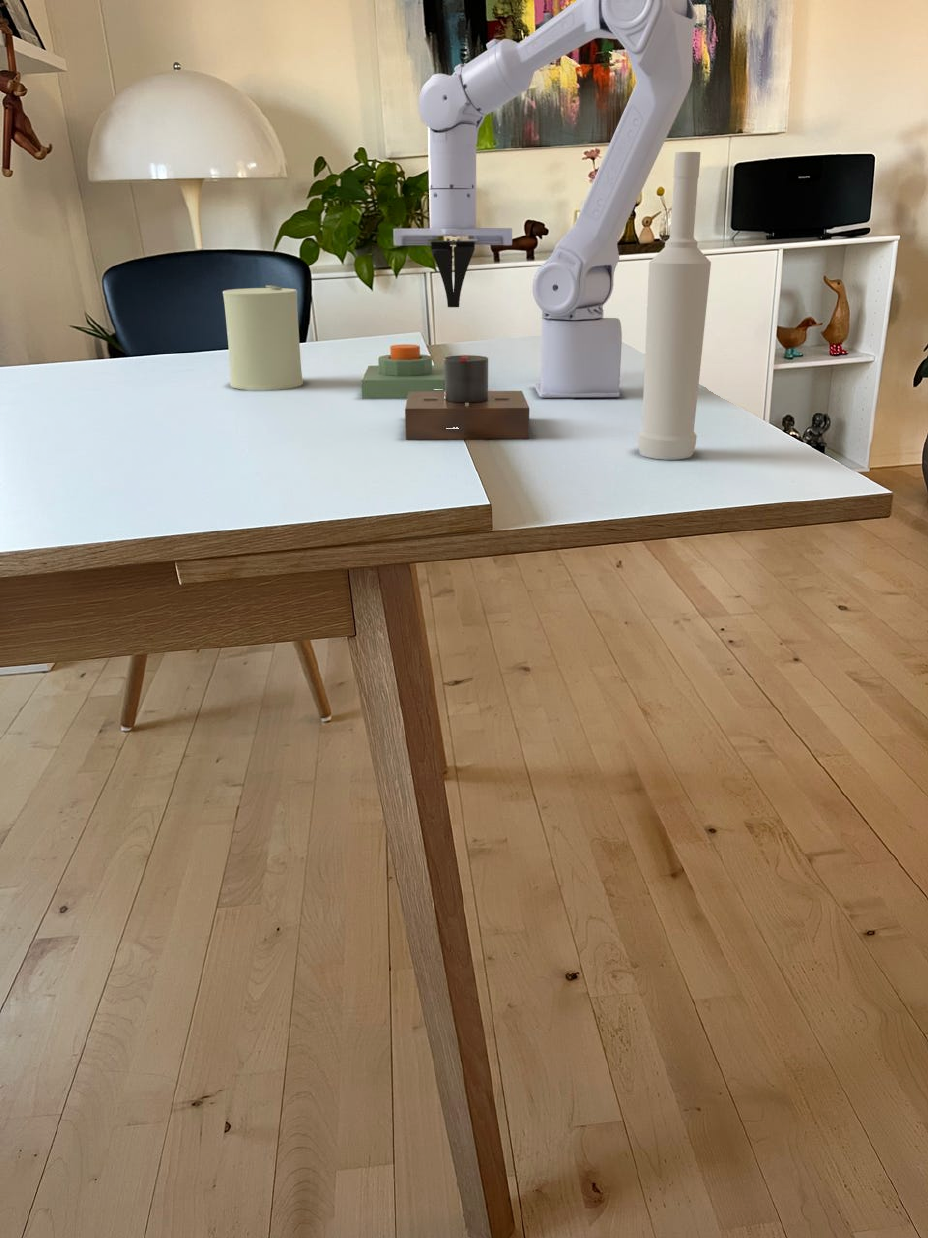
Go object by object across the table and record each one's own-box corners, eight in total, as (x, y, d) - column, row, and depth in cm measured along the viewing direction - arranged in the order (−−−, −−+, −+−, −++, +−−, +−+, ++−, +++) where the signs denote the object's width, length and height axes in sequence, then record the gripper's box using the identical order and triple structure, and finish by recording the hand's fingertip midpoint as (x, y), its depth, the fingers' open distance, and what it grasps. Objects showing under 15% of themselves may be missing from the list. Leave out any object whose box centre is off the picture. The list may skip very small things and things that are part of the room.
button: (420, 358, 125) (420, 344, 125) (419, 362, 122) (419, 347, 121) (391, 358, 125) (390, 344, 125) (389, 362, 122) (389, 347, 121)
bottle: (683, 462, 89) (707, 149, 79) (628, 456, 91) (646, 151, 82) (703, 451, 93) (728, 152, 83) (650, 445, 95) (669, 154, 86)
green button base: (446, 382, 131) (446, 350, 129) (446, 398, 119) (446, 363, 118) (369, 382, 130) (367, 351, 129) (362, 398, 119) (360, 364, 118)
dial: (448, 394, 104) (448, 351, 102) (490, 395, 103) (491, 352, 102) (441, 401, 100) (440, 357, 98) (484, 402, 99) (485, 358, 98)
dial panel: (521, 418, 108) (522, 388, 106) (528, 438, 98) (529, 406, 97) (409, 419, 107) (408, 389, 106) (405, 439, 98) (404, 406, 97)
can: (317, 381, 131) (311, 284, 127) (276, 392, 124) (269, 289, 119) (258, 377, 135) (251, 282, 130) (215, 387, 127) (206, 287, 123)
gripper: (389, 188, 118) (393, 309, 124) (513, 188, 118) (511, 309, 123) (395, 190, 125) (398, 304, 130) (512, 189, 125) (510, 304, 130)
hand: (453, 306), depth 127 cm, fingers closed
